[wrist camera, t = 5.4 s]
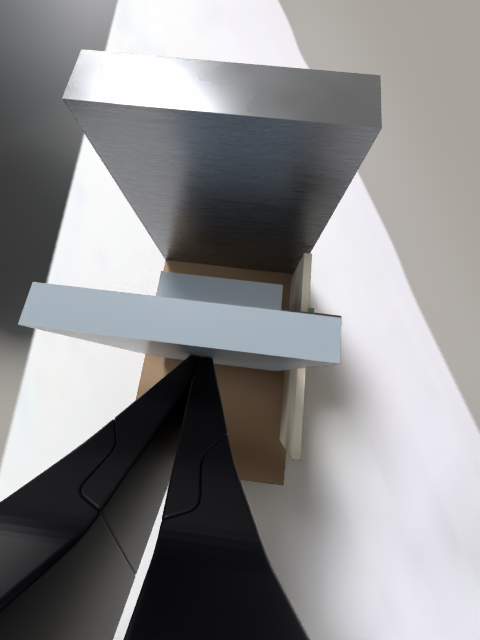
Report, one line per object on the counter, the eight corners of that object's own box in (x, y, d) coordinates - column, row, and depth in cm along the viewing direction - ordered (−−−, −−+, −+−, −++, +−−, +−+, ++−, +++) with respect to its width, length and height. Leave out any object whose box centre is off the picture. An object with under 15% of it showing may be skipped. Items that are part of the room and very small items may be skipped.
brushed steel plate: (297, 274, 16) (381, 128, 6) (165, 260, 16) (61, 98, 7) (299, 248, 16) (380, 75, 7) (171, 234, 16) (81, 49, 7)
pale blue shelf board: (313, 376, 14) (451, 376, 5) (159, 357, 14) (17, 324, 5) (317, 311, 15) (437, 211, 6) (172, 294, 15) (70, 174, 6)
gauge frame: (283, 474, 14) (303, 522, 10) (134, 454, 14) (84, 491, 10) (297, 259, 18) (318, 217, 13) (176, 246, 18) (154, 200, 13)
